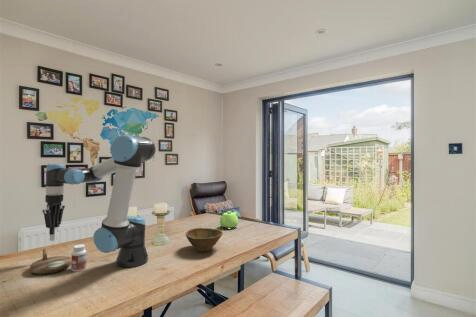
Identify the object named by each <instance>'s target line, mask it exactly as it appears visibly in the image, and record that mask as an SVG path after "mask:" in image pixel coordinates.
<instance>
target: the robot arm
mask: <svg viewBox="0 0 476 317" xmlns="http://www.w3.org/2000/svg"><path fill="white" fill-rule="evenodd" d="M110 154H111V158H108V159H106V160H104V161H102V162H100V163H96V164H95V165H93V166H91V167H85V168H84V167H82V168H65V164H63V163H49V164H47V165H46V169H45V170H46V171H45V194H46V195H44V196H45V197H44V198H45V200H44V202H45V203H46V208H45V209H42V210H41V211H42V214H43V215H44V216H43V217H44V224H45V228H47V229H49V230H48V231H49V241H54V242H55V241H57V240H58V228H59V227H60V225H61V224H62V220H63V215H64V210H65V207H66V206H65V205H63V204H62V202H63V201H64V192H65V189H64V188H65V187H64V185H65V184H67V185H80V184H82V183H84V184H85V183H95V182H100V181H102V180H103V179H104V177H108V176H109V175H112V174H114V173H115V174H114V179H113V183H112V189H111V194H110V199H109V204H108V209H107V213H106V214H107V215H106V217H105V218H104V219H102V221H101V227H100V228H97V229H96V230H95V231H94V233H93V238H92V239H93V243H94V246H95V247H96V248H97V250H99V251H100V252H101V253H105V254H107V253H111V252H115V251H117V250H119V252H118V254H117V257H116V261H115V262H116V265H117V266H118V267H121V268H135V267H139V266H143V265H145V264H147V262H148V260H149V254H148V252H147V249H146V245H145V244H146V241H145V240H146V226H147V224H146V219H145V217H143V216H135V215H134V216H132V215H131V216H130V215H129V214H128V213H129V210H130V205H131V204H130V203H131V200H132V196H133V194H132V193H133V189H134V184H135V180H136V174H137V171H138V169H140V168H141V167H142V163H145V162H148V161H150V160H151V159H153V158H154V156H155V155H156V144H155V143H154V141H153V140H152V139H151V138H148V137H146V136H139V135H132V134H131V135H130V134H126V135H125V134H124V135H123V134H122V135H119V136H117V137H116V138H114V140H113V141H112V143H111V144H110ZM128 215H129V216H128Z"/></svg>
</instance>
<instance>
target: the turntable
mask: <svg viewBox="0 0 476 317" xmlns="http://www.w3.org/2000/svg"><path fill="white" fill-rule="evenodd" d="M68 267H71V257H70V256H65V255H57V256H50V257H48V248H43V249H42V259H39V260H36V261H34V262H32V263H31V264H30V265H29V271H30V273H32V274H38V275H44V274H43V273H50V274H52V273H51V272H54V273H56V272H55V271H58V272H60V271H59V270H61V271H62V269H63V270H65V269H67V268H68Z"/></svg>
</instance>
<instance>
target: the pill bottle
mask: <svg viewBox="0 0 476 317" xmlns="http://www.w3.org/2000/svg"><path fill="white" fill-rule="evenodd" d="M70 258H71V264H70V270H71V271H72V272H81V271H84V270H86V268H87V250H86V245H85V244H83V243H81V244H80V243H79V244H75V245H74V246H73V250H72V252H71V257H70Z"/></svg>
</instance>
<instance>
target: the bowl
mask: <svg viewBox="0 0 476 317" xmlns="http://www.w3.org/2000/svg"><path fill="white" fill-rule="evenodd" d="M223 234H224V232H223V231H222V230H220V229H218V228H217V229H216V228H209V227H208V228H206V227H197V228H196V227H195V228H192V229H189V230H187V231H186V232H185V237H186V239H187V241H188V242H189V243H190V245H191V246H193V247H192V248H194V249H195V250H196V251H197V252H209V251H212V249H213V248H214V246H216V244H218V242H219V240H220V239H221V237H222V236H223Z"/></svg>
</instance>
